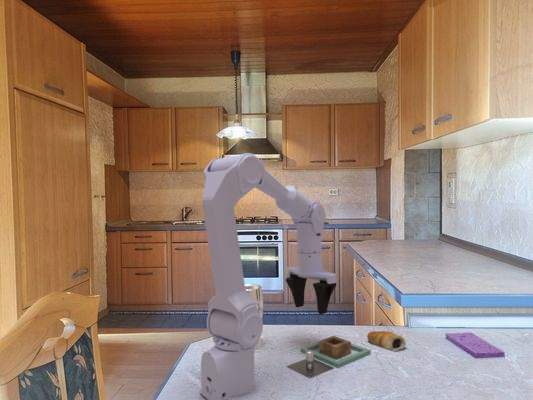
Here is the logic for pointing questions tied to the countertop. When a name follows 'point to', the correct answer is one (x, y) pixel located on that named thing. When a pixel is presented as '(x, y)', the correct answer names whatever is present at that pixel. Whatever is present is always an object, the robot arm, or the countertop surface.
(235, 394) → the robot arm
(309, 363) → the grey peg base
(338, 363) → the tray
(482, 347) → the sponges
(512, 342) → the countertop surface
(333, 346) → the collar
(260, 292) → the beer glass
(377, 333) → the pastry
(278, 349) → the countertop surface
